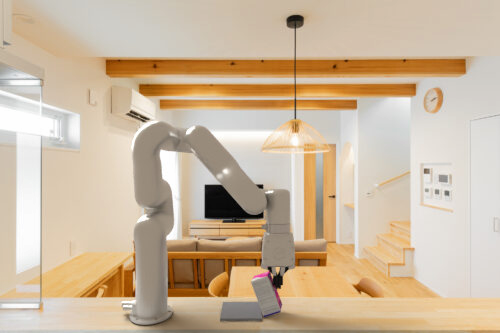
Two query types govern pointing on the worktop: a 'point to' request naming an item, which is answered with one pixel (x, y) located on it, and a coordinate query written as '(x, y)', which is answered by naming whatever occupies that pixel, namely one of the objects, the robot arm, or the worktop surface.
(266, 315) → the supplement box
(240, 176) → the robot arm
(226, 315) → the felt pad
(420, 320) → the worktop surface
